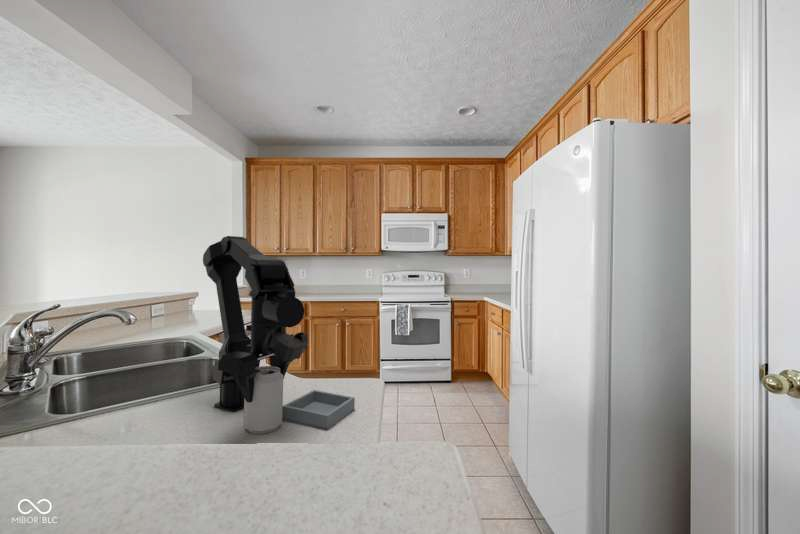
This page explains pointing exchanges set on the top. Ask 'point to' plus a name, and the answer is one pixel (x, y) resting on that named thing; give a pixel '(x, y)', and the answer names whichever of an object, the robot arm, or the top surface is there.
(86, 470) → the top surface
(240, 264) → the robot arm
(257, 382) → the can
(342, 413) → the bin
